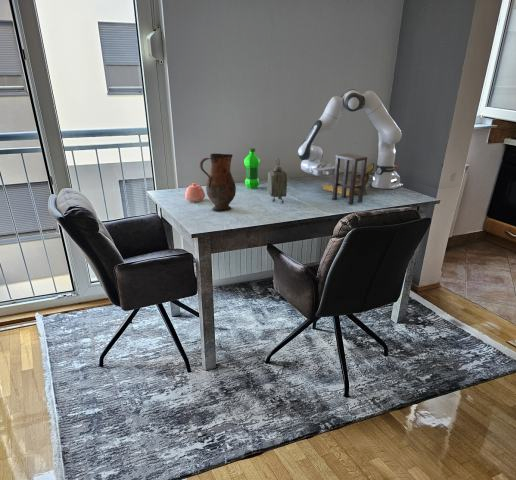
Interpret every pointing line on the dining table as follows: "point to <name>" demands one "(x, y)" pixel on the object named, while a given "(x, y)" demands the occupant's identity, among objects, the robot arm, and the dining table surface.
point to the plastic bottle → (252, 169)
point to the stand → (353, 177)
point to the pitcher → (220, 181)
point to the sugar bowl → (194, 193)
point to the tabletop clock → (277, 183)
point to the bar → (330, 188)
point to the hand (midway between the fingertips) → (334, 172)
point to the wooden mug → (365, 179)
